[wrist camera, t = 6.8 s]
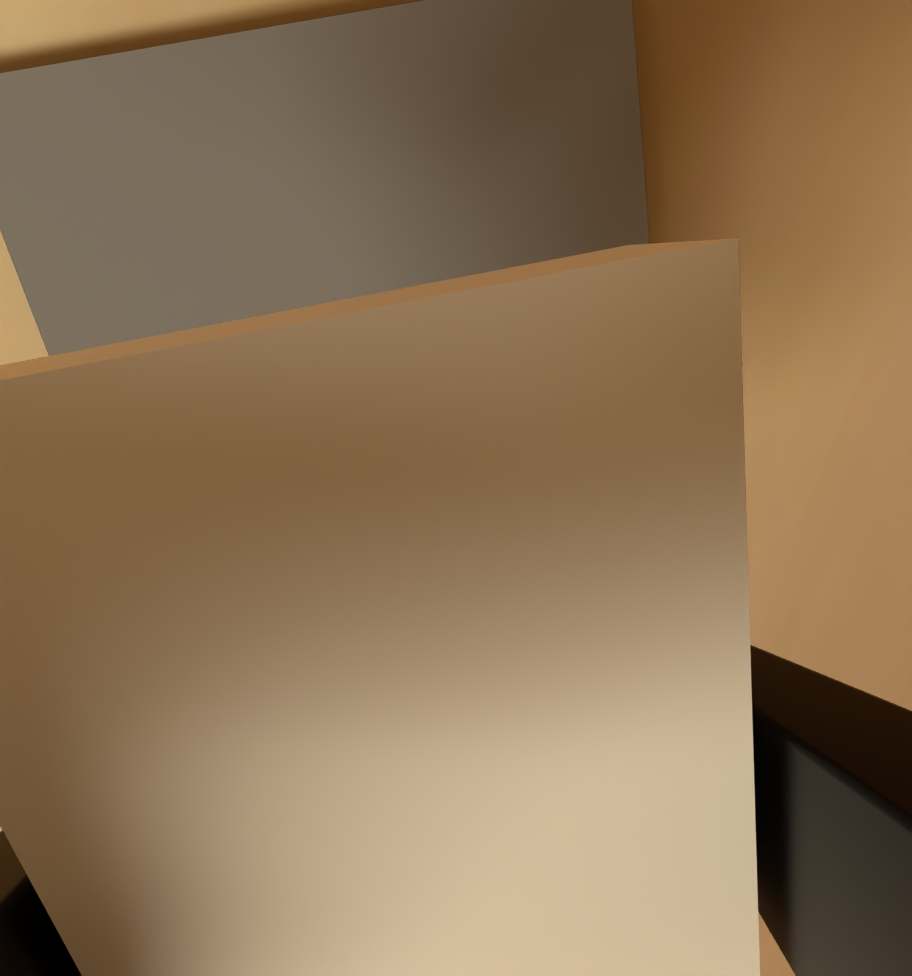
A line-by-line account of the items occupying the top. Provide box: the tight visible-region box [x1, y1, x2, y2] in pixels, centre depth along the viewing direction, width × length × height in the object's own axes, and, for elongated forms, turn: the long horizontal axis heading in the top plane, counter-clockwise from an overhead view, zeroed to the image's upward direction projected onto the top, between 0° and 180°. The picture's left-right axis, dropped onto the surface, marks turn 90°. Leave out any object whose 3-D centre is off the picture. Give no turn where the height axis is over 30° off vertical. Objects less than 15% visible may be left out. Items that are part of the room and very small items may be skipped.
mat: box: [0, 0, 649, 356], centre depth 17 cm, size 14×20×1 cm
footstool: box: [0, 238, 760, 976], centre depth 9 cm, size 10×6×6 cm, turn 10°
